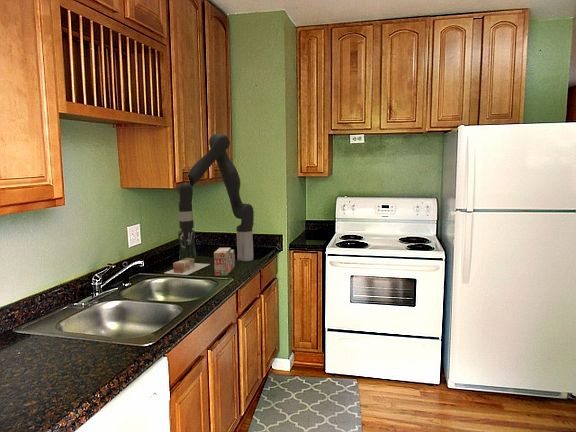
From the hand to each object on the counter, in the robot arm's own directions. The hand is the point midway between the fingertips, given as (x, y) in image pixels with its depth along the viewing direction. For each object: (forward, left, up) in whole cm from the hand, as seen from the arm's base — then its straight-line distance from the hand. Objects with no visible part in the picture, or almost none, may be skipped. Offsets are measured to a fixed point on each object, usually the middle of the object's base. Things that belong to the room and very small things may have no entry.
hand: (188, 251), depth 234 cm
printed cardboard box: (-3, +20, -10) cm, 23 cm away
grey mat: (+1, 0, -10) cm, 10 cm away
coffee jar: (-18, -12, -10) cm, 24 cm away
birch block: (-1, 0, -7) cm, 7 cm away
